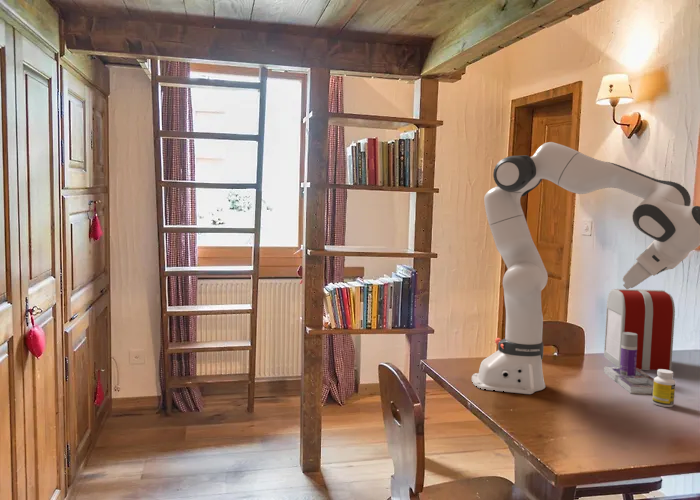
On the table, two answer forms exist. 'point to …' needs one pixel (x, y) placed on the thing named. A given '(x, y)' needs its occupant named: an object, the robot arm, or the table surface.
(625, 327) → the red striped box
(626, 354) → the container
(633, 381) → the rectangular frame with crossbar
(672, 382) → the supplement bottle
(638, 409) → the table surface
